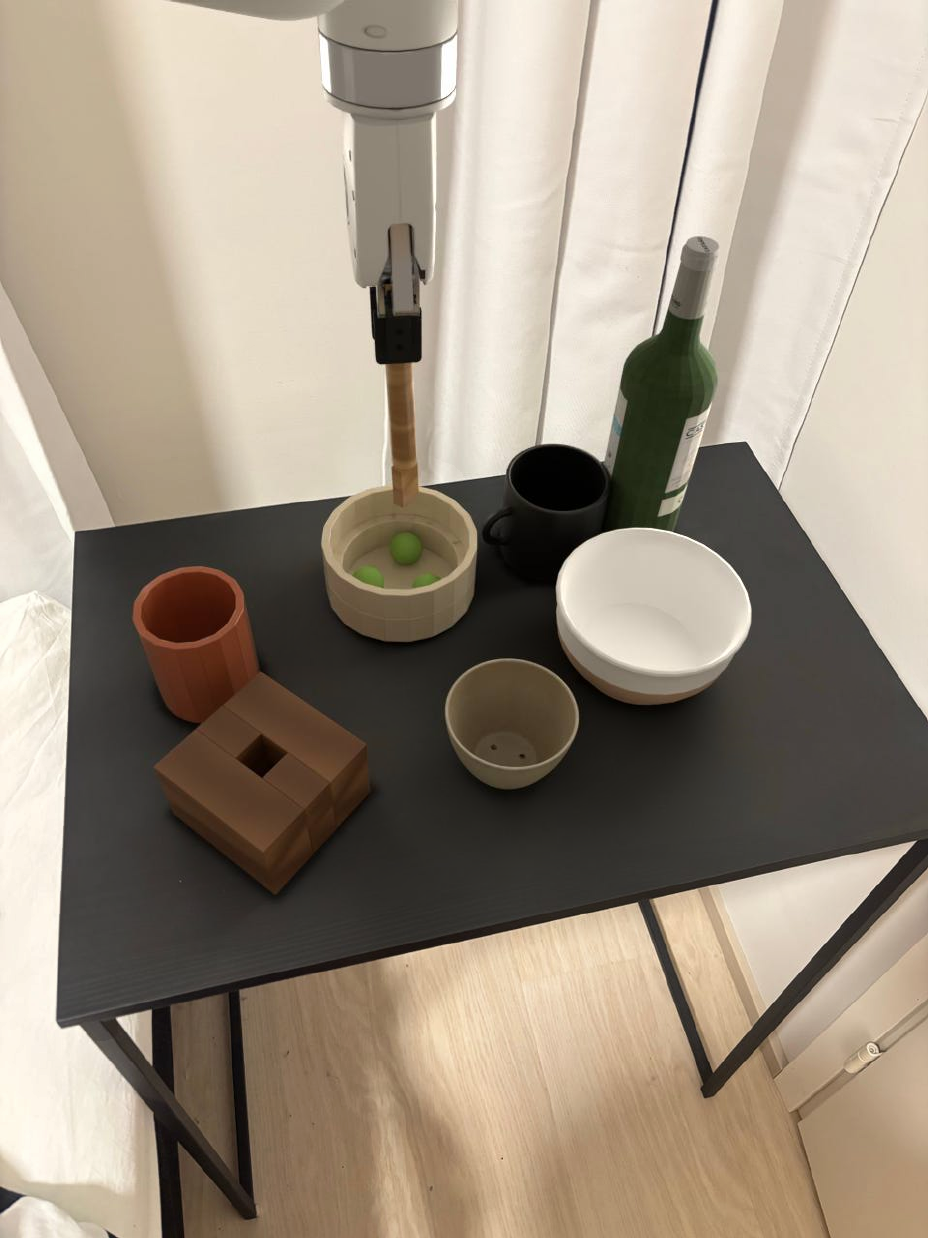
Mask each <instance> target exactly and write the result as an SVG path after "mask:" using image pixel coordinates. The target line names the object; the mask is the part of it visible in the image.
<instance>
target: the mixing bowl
mask: <svg viewBox="0 0 928 1238" xmlns="http://www.w3.org/2000/svg"><path fill="white" fill-rule="evenodd" d="M402 532H410V533H413V534H414V535H416V536H417V537H418V538H419V539H420V541H421V544H422V553H421V556H420V557H419V559H418V560H417V561H415V562H414V563H412V564H401V563H398V562H397V561H395V560H394V558H393V557H392V555H391V553H390V544H391V541H392V539H393V538H394V537H395V536H396V535H397V534H399V533H402ZM320 546H321V547H320V548H321V554H322V555H321V556H322V564H323V572H324V581H325V589H326V594H327V597H328V600H329V601H328V602H329V605H330V608H331V609H332V610H333V611H334V613H335V614H336V616H337V617H338V618H339V619H340V620H341V622H342V623H343V624H344V625H346V626H347V627H349V628H351V629H352V630H354V631H355V632H357V633H359V634H360V635H362V636H364V637H369V638H372V639H376V640H378V641H383V642H396V643H412V642H415V641H420V640H425V639H429V638H432V637H435V636H438V635H439V634H441V633H442V632H444V631H446V630H448V629H450V628H452V627H453V626H454V625H455V624H456V623H458V621H459V620H460V619H461V618H462V617H463V616H464V615H465V614H466V613H467V612H468V610H469V607H470V605H471V603H472V601H473V598H474V597H475V584H476V569H477V558H478V557H477V555H478V529H477V528H476V526H475V523H474V521H473V519H472V516H471V515H470V514H469V512H468V511H466V509H464V508H463V507H462V505H461V504H459V502H457V501H456V500H454V499H453V498H451V497H449V496H448V495H446V494H444V493H442V492H440V491H437V490H435V489H431V488H428V487H422V486H420V485H419V494H418V495H417V496H416V497H414V498H413V499H412V500H411V501H410V502H409V503H408V504H407V505H406V506H405V507H404V508H402V507H400V506H398V505H396V504H394V498H393V484H388V485H382V486H376V487H371V488H367V489H365V490H363V491H361V492H359V493H355V494H354V495H351V496H349V497H348V498H347V499H345V500H344V501H342V502H341V503H340V504H339V505H338V506H337V507H335V508H334V510H333V511H331V514H330V515H329V517H328V518H327V520H326V522H325V524H324V525H323V529H322V535H321V541H320ZM362 567H373V568H375V569H377V570H378V571H379V572H380V573H381V575H382V576H383V579H384V587H383V588H380V587H376V586H373V585H369V584H365V583H363V582H361V581H359V580H358V579H356V578H354V577H353V576H352V575H353V574H354V572H355V571H356V570H358V569H359V568H362ZM426 573H431V574H435V575H437V576H438V577H440V578H441V580H439V581H437V582H435V583H433V584H431V585H428V586H423V587H418V588H414V589H412V585H413V583H414V581H415V580H416V578H417V577H419V576H420V575H422V574H426Z"/></svg>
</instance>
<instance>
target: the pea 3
mask: <svg viewBox="0 0 928 1238" xmlns="http://www.w3.org/2000/svg"><path fill="white" fill-rule="evenodd" d="M439 580H441V578H440V577H438V576H437V575H435V574H431V573H426V574H422V575H420V576H419V577H417V578H416V580H415V581H414V583H413V585H412V589H414V588H418V587H423V586H428V585H431V584H433V583H435V582H437V581H439Z"/></svg>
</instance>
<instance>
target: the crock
mask: <svg viewBox="0 0 928 1238" xmlns="http://www.w3.org/2000/svg"><path fill="white" fill-rule="evenodd" d="M249 617H250V616H249V613H248V608H247V603H246V599H245V594H244V592H243V590H242V588H241V587H240V585H239V583H238V582H237V580H236V579H234V578H233V577H231V576H229V575H228V574H227V573H226V572H223V570H220V569H216V568H211V567H208V566H207V567H206V566H203V565H202V566H199V565H198V566H187V567H179V568H176V569H174V570H171V571H168V572H166V573H163V574H160V575H158V576H157V577H156V578H155V579H153V580H152V581H150V582H149V583H148V584H146V585H145V586H144V587H143V588H142V590H141V591H140V593H139V594H138V596H137V597H136V599H135V600H134V602H133V610H132V622H133V625H134V628H135V631H136V633H137V637H138V638H139V641H140V645H141V646H142V649H143V651H144V654H145V657H146V660H147V663H148V665H149V668H150V671H151V673H152V676H153V679H154V682H155V684H156V686H157V689H158V691H159V693H160V695H161V698H162V701H163V703H164V705H165V706H166V708H167V709H168V710H169V711H170V712H171V713H172V714H173V715H175V716H176V717H177V718H179V719H181V720H183V721H187V722H190V723H195V724H202V723H203V722H204V721H205V720H207V719H208V718H209V717H210V716H211V715H212V714H213V713H214V712H216V711H217V710H218V709H219V708H220V707H221V706H223V705H224V704H225V703H226V702H227V701H228V700H229V699H230V698H231V697H233V696H234V695H235V694H236V693H237V692H238V691H239V690H240V689H242V688H243V687H244V686H245V685H246V684H247V683H248V682H249V681H251V680H252V679H253V678H254V677H255V676H256V675H257V674H258V673H259V672H261V670H260V663H259V657H258V653H257V649H256V644H255V640H254V635H253V630H252V626H251V623H250V622H251V621H250V618H249Z"/></svg>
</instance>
